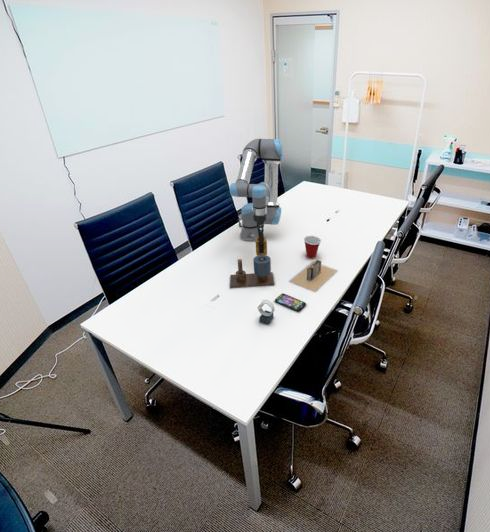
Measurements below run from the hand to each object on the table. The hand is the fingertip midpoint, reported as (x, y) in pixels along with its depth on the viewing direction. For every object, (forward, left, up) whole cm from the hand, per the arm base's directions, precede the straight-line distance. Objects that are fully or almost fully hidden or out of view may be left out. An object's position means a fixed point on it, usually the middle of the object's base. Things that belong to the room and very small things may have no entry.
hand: (261, 249), depth 199 cm
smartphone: (+41, -13, -9) cm, 44 cm away
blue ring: (+15, -11, -3) cm, 19 cm away
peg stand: (+12, -16, -9) cm, 22 cm away
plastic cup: (+14, +29, -9) cm, 34 cm away
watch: (+43, -30, -9) cm, 53 cm away
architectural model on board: (+31, +14, -9) cm, 35 cm away
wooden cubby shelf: (0, 0, -2) cm, 2 cm away
